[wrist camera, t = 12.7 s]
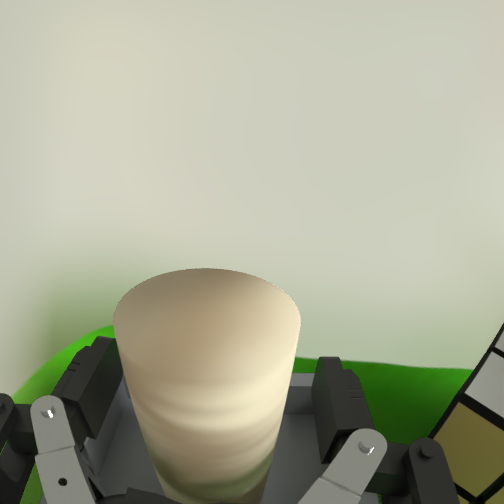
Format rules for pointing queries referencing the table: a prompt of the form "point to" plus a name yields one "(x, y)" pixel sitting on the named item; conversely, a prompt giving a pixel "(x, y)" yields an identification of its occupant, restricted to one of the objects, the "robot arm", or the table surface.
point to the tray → (282, 466)
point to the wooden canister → (208, 378)
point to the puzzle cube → (477, 431)
